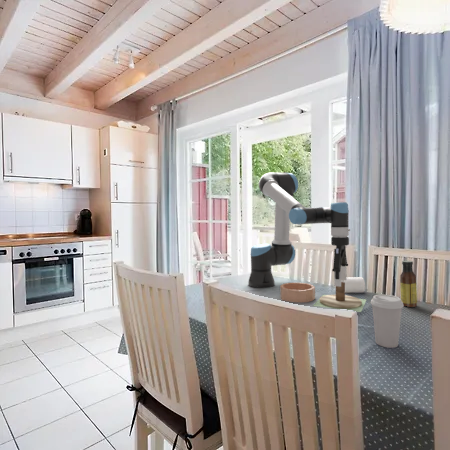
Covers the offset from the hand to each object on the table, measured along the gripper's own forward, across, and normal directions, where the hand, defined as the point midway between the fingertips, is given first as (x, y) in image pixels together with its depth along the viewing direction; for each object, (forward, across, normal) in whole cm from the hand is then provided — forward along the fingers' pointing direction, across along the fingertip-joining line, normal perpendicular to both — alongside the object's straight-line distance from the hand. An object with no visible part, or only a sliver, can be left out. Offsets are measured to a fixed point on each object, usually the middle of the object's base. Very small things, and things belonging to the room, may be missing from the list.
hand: (340, 283), depth 145 cm
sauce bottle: (+10, +10, -27) cm, 30 cm away
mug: (+10, +24, -1) cm, 26 cm away
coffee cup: (+10, -37, -21) cm, 43 cm away
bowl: (+9, 0, +20) cm, 22 cm away
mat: (+10, 0, 0) cm, 10 cm away
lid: (+9, 0, 0) cm, 9 cm away
